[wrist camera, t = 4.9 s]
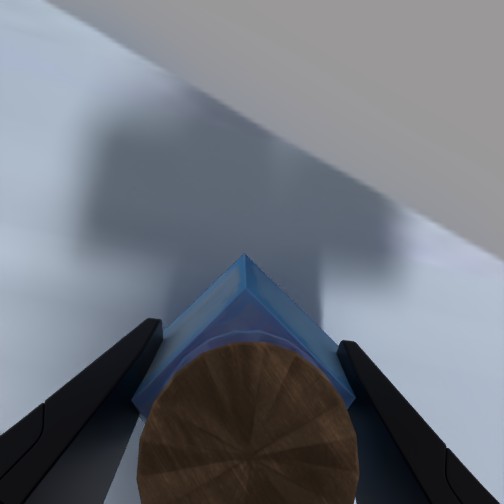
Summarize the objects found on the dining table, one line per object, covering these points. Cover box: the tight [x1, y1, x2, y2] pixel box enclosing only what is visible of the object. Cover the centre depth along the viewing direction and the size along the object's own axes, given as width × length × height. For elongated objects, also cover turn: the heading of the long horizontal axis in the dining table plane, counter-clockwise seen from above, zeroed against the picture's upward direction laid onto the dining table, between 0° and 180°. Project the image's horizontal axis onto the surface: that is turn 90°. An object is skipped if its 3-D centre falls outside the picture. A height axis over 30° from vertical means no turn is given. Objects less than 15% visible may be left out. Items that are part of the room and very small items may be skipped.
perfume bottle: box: [131, 253, 360, 504], centre depth 10 cm, size 6×6×12 cm
